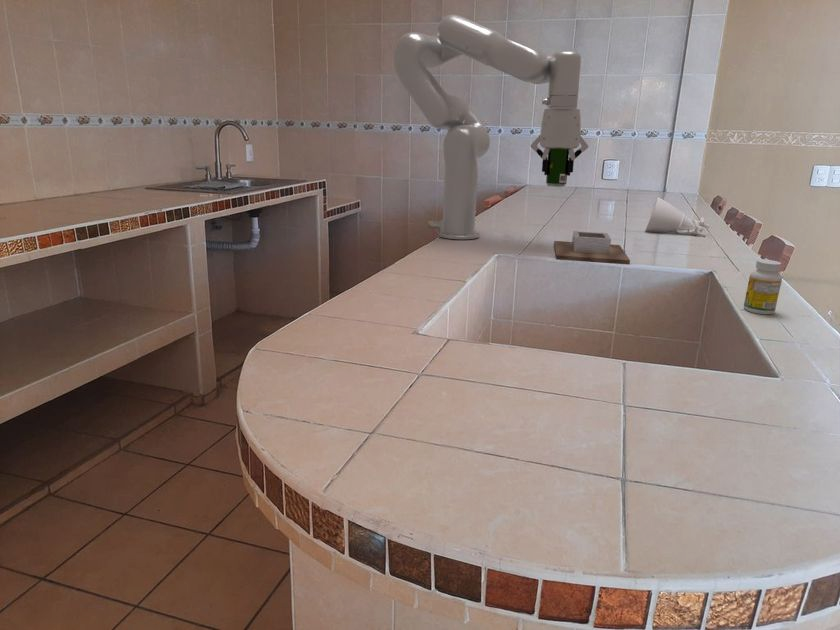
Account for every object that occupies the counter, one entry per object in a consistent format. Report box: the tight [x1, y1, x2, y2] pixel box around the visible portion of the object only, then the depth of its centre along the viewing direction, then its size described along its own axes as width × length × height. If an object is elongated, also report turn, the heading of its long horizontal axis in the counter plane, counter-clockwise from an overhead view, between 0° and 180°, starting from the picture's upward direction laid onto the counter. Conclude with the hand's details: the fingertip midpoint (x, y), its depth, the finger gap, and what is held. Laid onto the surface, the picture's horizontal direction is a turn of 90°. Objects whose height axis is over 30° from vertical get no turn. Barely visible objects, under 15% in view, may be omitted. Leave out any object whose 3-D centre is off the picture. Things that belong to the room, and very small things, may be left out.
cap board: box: [553, 230, 631, 265], centre depth 160 cm, size 18×20×5 cm
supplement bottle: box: [743, 259, 783, 315], centre depth 113 cm, size 5×5×10 cm
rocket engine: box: [644, 197, 711, 237], centre depth 194 cm, size 12×12×18 cm
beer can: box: [545, 148, 570, 188], centre depth 160 cm, size 5×5×12 cm
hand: (557, 174), depth 161 cm, fingers closed on beer can, 5 cm apart
